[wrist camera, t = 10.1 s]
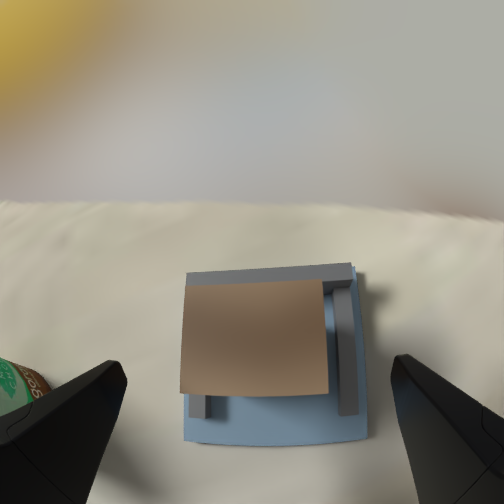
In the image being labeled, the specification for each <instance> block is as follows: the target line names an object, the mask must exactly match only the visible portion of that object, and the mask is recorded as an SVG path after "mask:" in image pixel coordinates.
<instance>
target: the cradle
mask: <svg viewBox="0 0 504 504" xmlns="http://www.w3.org/2000/svg"><path fill="white" fill-rule="evenodd" d="M312 279H322V286H323V298H324V311H325V325H326V342H327V362H328V391H329V393H328V394H315V395H298V396H263V397H249V396H213V395H196V394H184V441H190V442H200V443H210V444H224V445H244V446H291V445H311V444H324V443H335V442H344V441H352V440H360V439H366V438H367V390H366V370H365V354H364V342H363V330H362V320H361V311H360V302H359V294H358V286H357V278H356V271H355V266H354V267H352V265H351V262H350V263H337V264H323V265H308V266H294V267H279V268H263V269H246V270H229V271H212V272H193V273H187V276H186V286H193V285H219V284H241V283H261V282H279V281H296V280H312Z"/></svg>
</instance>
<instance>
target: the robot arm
mask: <svg viewBox="0 0 504 504" xmlns="http://www.w3.org/2000/svg"><path fill="white" fill-rule="evenodd" d="M391 385H392V390H393V396H394V401H395V407H396V412H397V418H398V423H399V426H400V430H401V433H402V437H403V440H404V444H405V447H406V451H407V455H408V458H409V462H410V466H411V470H412V474H413V478H414V482H415V486H416V490H417V495H418V499H419V504H504V419H503V418H502V417H500V416H499V415H497V414H496V413H494V412H493V411H491V410H490V409H488V408H487V407H485V406H483V405H482V404H481V403H479V402H478V401H476V400H475V399H473V398H472V397H470V396H469V395H468V394H466V393H465V392H463V391H462V390H460V389H459V388H457V387H456V386H454V385H453V384H451V383H450V382H449V381H447V380H446V379H444V378H443V377H441V376H440V375H438V374H437V373H435V372H434V371H432V370H431V369H429V368H428V367H427V366H425V365H424V364H422V363H421V362H419V361H418V360H416V359H415V358H413V357H412V356H410V355H409V354H402V355H397V356H396V357H395V358H394V362H393V367H392V372H391ZM126 387H127V378H126V375H125V373H124V371H123V368H122V366H121V364H120V363H119V362H118V361H114V360H107V361H105V362H104V363H102V364H100V365H98V366H96V367H95V368H93V369H91V370H89V371H87V372H85V373H84V374H82V375H80V376H78V377H76V378H74V379H73V380H71V381H69V382H67V383H65V384H63V385H62V386H60V387H58V388H56V389H54V390H52V391H50V392H49V393H47V394H45V395H43V396H41V397H39V398H37V399H35V400H34V401H31V402H30V403H28V404H26V405H24V406H22V407H20V408H18V409H16V410H14V411H11V412H9V413H7V414H4V415H2V416H0V504H86V502H87V499H88V496H89V493H90V490H91V487H92V484H93V482H94V479H95V476H96V473H97V470H98V468H99V465H100V462H101V460H102V457H103V454H104V452H105V449H106V446H107V444H108V441H109V439H110V436H111V434H112V431H113V429H114V426H115V423H116V421H117V418H118V415H119V411H120V408H121V404H122V401H123V397H124V394H125V390H126Z"/></svg>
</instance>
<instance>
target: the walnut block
mask: <svg viewBox="0 0 504 504" xmlns="http://www.w3.org/2000/svg"><path fill="white" fill-rule="evenodd" d="M180 393H183V394H196V395H213V396H249V397H263V396H298V395H315V394H328V393H329V391H328V362H327V342H326V325H325V311H324V298H323V286H322V279H312V280H296V281H279V282H261V283H241V284H219V285H193V286H185V298H184V312H183V328H182V346H181V369H180Z"/></svg>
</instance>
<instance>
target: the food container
mask: <svg viewBox="0 0 504 504" xmlns="http://www.w3.org/2000/svg"><path fill="white" fill-rule="evenodd" d="M50 391H51V388H50V387H49V385H48V384H47V382H46V381H45V380H44V378H43V377H42V376H41V375H40V374H39V373H37V372H36V371H34V370H32V369H29V368H26V367H24V366H21V365H18V364H15V363H12V362H10V361H7V360H5V359H2V358H0V416H2V415H4V414H7V413H9V412H11V411H14V410H16V409H18V408H20V407H22V406H24V405H26V404H28V403H30V402H31V401H34V400H35V399H37V398H39V397H41V396H43V395H45V394H47V393H49V392H50Z"/></svg>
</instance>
